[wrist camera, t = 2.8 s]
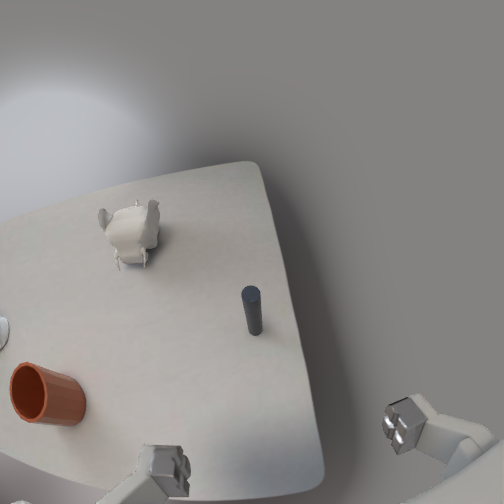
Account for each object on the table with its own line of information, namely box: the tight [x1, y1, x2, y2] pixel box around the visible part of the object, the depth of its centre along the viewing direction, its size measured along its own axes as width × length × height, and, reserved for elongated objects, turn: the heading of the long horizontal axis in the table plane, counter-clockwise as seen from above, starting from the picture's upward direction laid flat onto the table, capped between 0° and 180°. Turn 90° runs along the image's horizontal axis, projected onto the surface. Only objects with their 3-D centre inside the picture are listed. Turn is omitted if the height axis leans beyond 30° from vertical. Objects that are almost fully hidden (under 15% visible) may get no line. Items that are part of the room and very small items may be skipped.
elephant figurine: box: [98, 200, 160, 270], centre depth 41 cm, size 10×12×9 cm
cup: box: [10, 362, 86, 426], centre depth 27 cm, size 8×8×9 cm
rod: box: [241, 286, 262, 336], centre depth 32 cm, size 2×2×12 cm
